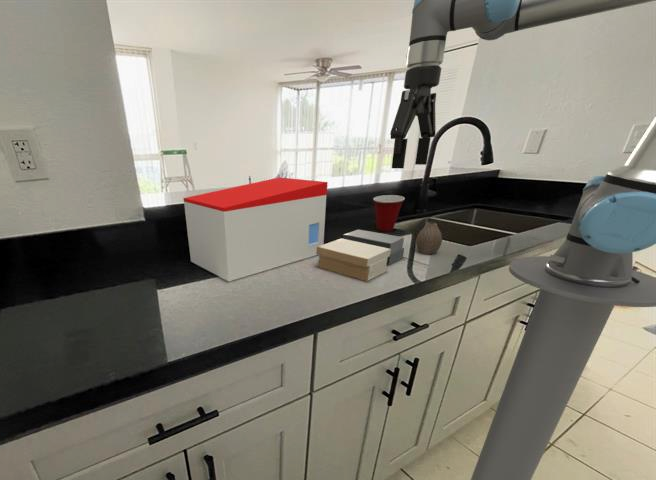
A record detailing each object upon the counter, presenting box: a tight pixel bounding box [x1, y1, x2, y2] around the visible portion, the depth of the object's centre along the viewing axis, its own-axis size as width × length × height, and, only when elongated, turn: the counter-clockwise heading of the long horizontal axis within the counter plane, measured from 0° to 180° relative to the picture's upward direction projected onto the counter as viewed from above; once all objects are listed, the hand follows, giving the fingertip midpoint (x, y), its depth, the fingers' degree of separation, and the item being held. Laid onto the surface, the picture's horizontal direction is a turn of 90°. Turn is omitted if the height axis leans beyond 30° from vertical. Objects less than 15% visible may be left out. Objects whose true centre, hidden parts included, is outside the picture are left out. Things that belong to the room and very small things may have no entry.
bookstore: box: [183, 176, 328, 282], centre depth 97 cm, size 21×35×21 cm, turn 127°
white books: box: [317, 255, 388, 282], centre depth 89 cm, size 15×9×4 cm, turn 42°
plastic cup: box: [372, 194, 406, 232], centre depth 125 cm, size 11×11×12 cm
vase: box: [415, 222, 443, 255], centre depth 99 cm, size 7×7×9 cm
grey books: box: [342, 229, 405, 266], centre depth 98 cm, size 15×9×6 cm, turn 42°
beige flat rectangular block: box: [316, 238, 391, 267], centre depth 88 cm, size 15×11×2 cm
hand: (409, 166), depth 86 cm, fingers open, 13 cm apart
